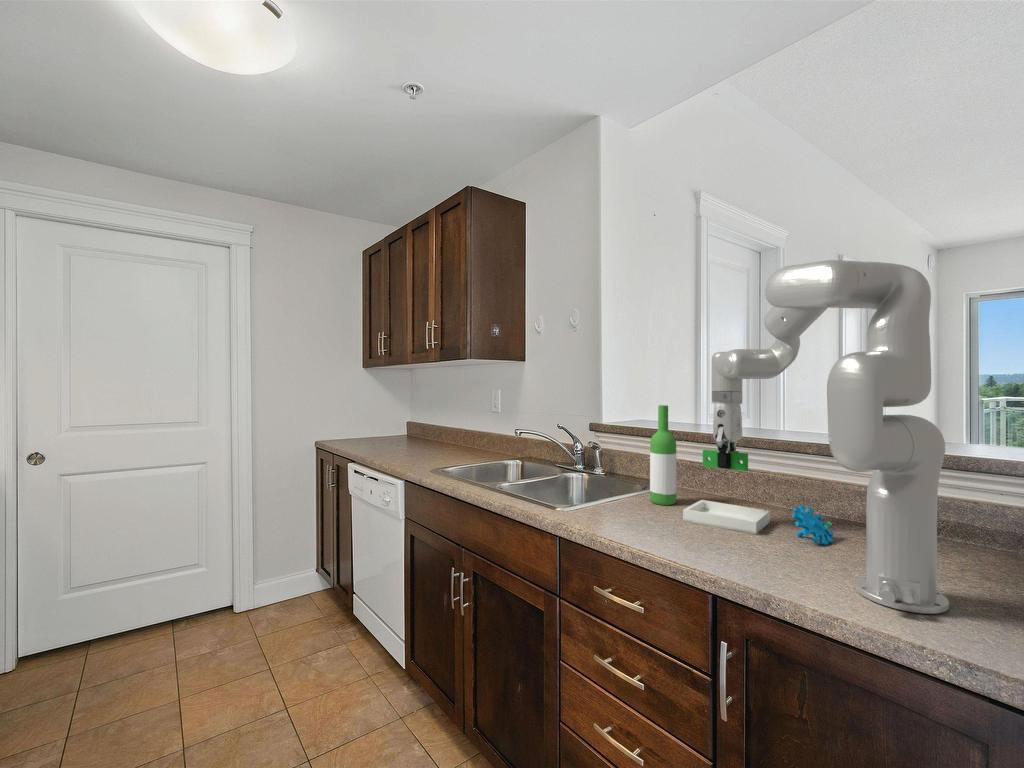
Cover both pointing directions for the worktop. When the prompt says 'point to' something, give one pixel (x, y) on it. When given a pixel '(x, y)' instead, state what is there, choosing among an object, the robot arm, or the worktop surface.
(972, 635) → the worktop surface
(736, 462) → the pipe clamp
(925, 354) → the robot arm
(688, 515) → the tray
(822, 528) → the blue lumpy piece
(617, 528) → the worktop surface
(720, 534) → the worktop surface
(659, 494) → the wine bottle
